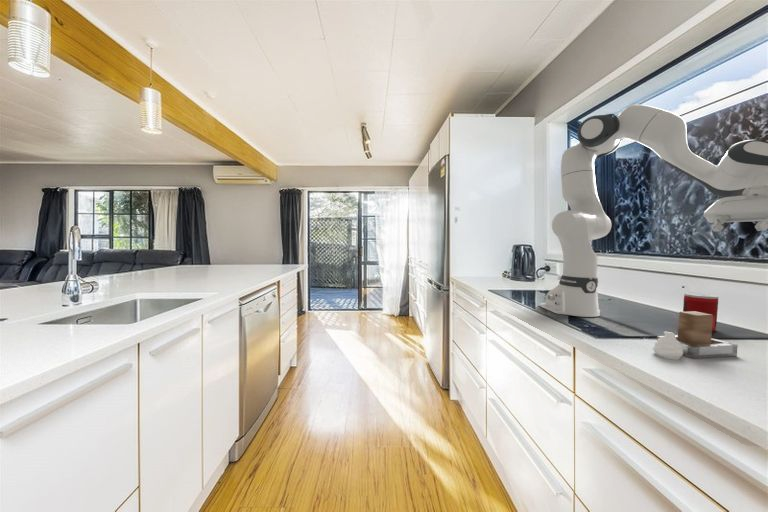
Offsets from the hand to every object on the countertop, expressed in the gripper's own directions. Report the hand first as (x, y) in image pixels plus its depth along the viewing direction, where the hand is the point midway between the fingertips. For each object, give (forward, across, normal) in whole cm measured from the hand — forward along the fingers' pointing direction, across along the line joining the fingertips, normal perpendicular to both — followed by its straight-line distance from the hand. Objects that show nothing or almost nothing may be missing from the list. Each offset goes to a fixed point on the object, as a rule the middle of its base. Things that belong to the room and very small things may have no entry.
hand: (736, 229), depth 86 cm
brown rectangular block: (+31, +2, +12) cm, 34 cm away
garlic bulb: (+40, +4, +5) cm, 40 cm away
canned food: (+13, -16, +31) cm, 38 cm away
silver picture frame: (+32, +2, +13) cm, 34 cm away
